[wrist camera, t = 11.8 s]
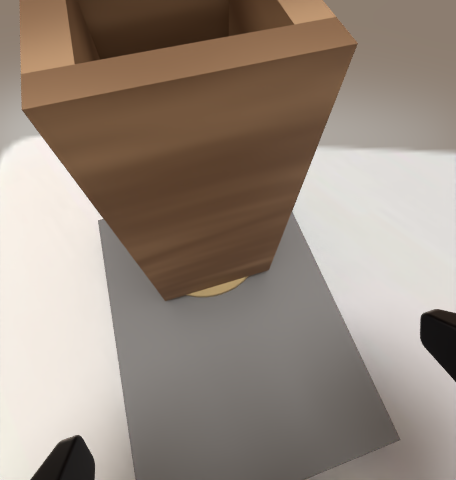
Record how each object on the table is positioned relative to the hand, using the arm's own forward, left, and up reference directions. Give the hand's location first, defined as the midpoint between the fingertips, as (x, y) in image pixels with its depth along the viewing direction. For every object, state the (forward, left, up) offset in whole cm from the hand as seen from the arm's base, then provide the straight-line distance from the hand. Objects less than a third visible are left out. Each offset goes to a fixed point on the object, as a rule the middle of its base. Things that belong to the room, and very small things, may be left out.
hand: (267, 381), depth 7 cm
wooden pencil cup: (+5, +6, -8) cm, 11 cm away
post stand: (+2, +3, -10) cm, 10 cm away
